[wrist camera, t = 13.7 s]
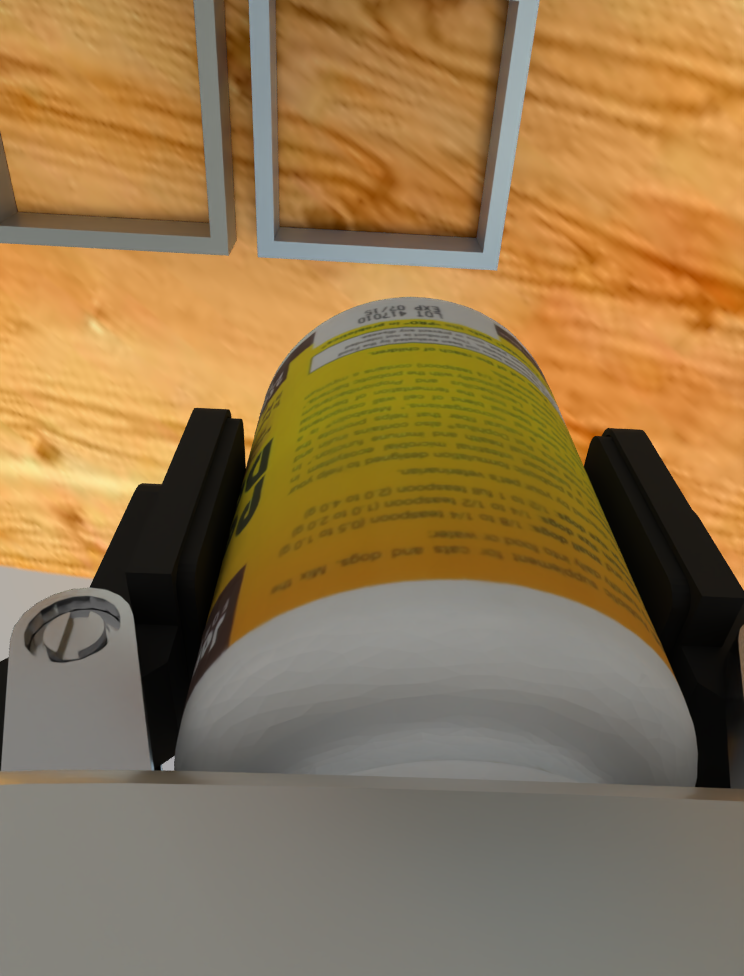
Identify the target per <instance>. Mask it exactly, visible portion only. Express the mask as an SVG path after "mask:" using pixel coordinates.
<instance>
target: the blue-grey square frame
mask: <svg viewBox="0 0 744 976" xmlns="http://www.w3.org/2000/svg"><path fill="white" fill-rule="evenodd" d="M538 7H539V0H509V6H508V13H507V20H506V28H505V35H504V42H503V49H502V57H501V64H500V71H499V78H498V86H497V93H496V100H495V108H494V115H493V122H492V129H491V137H490V144H489V151H488V159H487V166H486V173H485V180H484V188H483V195H482V202H481V209H480V217H479V224H478V231H477V238H468V237H450V236H433V235H415V234H397V233H380V232H362V231H344V230H327V229H309V228H291V227H280V225H279V169H278V113H277V57H276V0H249V24H250V52H251V80H252V108H253V136H254V164H255V192H256V220H257V248H258V257H265V258H283V259H301V260H319V261H337V262H355V263H374V264H392V265H410V266H428V267H446V268H464V269H483V270H497V267H498V260H499V254H500V248H501V241H502V235H503V229H504V222H505V216H506V210H507V203H508V197H509V191H510V184H511V178H512V172H513V165H514V159H515V153H516V146H517V140H518V133H519V127H520V121H521V114H522V108H523V102H524V95H525V89H526V83H527V76H528V70H529V64H530V57H531V51H532V45H533V38H534V32H535V26H536V19H537V13H538Z"/></svg>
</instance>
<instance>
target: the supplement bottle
mask: <svg viewBox="0 0 744 976" xmlns="http://www.w3.org/2000/svg"><path fill="white" fill-rule="evenodd" d="M697 762H698V750H697V743H696V735H695V730H694V725H693V722H692V719H691V716H690V713H689V710H688V708H687V705H686V702H685V699H684V696H683V694H682V692H681V689H680V687H679V685H678V682H677V680H676V678H675V675H674V673H673V671H672V668H671V666H670V663H669V661H668V659H667V656H666V654H665V652H664V649H663V647H662V645H661V642H660V640H659V638H658V636H657V633H656V631H655V629H654V627H653V625H652V622H651V620H650V618H649V616H648V614H647V611H646V609H645V607H644V604H643V602H642V600H641V598H640V595H639V593H638V591H637V588H636V586H635V584H634V582H633V580H632V577H631V575H630V573H629V571H628V568H627V566H626V564H625V561H624V559H623V556H622V554H621V552H620V549H619V547H618V545H617V543H616V540H615V538H614V536H613V533H612V531H611V529H610V526H609V524H608V522H607V520H606V517H605V515H604V513H603V510H602V508H601V506H600V503H599V501H598V499H597V496H596V494H595V492H594V489H593V487H592V484H591V482H590V480H589V478H588V475H587V473H586V471H585V469H584V466H583V464H582V462H581V459H580V457H579V455H578V452H577V450H576V448H575V445H574V443H573V441H572V438H571V436H570V434H569V431H568V429H567V427H566V425H565V423H564V420H563V418H562V415H561V413H560V411H559V408H558V406H557V404H556V401H555V399H554V396H553V394H552V392H551V390H550V388H549V386H548V384H547V382H546V379H545V377H544V375H543V373H542V371H541V370H540V368H539V366H538V364H537V363H536V361H535V360H534V358H533V357H532V356H531V354H530V353H529V352H528V350H527V349H526V348H525V347H524V346H523V345H522V344H521V342H520V341H519V340H518V339H517V338H516V337H515V336H514V335H513V334H512V333H511V332H510V331H508V330H507V329H506V328H505V327H503V326H502V325H500V324H499V323H497V322H496V321H495V320H493V319H491V318H489V317H487V316H486V315H484V314H482V313H480V312H478V311H476V310H473V309H471V308H468V307H465V306H462V305H459V304H456V303H452V302H448V301H444V300H438V299H431V298H420V297H400V298H391V299H384V300H378V301H373V302H369V303H366V304H363V305H359V306H356V307H354V308H351V309H349V310H346V311H344V312H342V313H340V314H338V315H336V316H334V317H332V318H330V319H329V320H327V321H325V322H324V323H322V324H321V325H319V326H318V327H316V328H315V329H314V330H312V331H311V332H310V333H309V334H307V335H306V336H305V337H304V338H303V339H302V340H301V341H300V342H299V343H298V344H297V345H296V346H295V347H294V348H293V349H292V350H291V351H290V353H289V354H288V355H287V357H286V358H285V359H284V361H283V362H282V364H281V365H280V366H279V368H278V370H277V372H276V374H275V376H274V377H273V380H272V382H271V384H270V386H269V389H268V391H267V394H266V397H265V401H264V404H263V407H262V410H261V413H260V417H259V421H258V424H257V428H256V432H255V436H254V440H253V444H252V448H251V451H250V455H249V459H248V463H247V467H246V471H245V475H244V479H243V483H242V486H241V490H240V493H239V497H238V501H237V505H236V509H235V514H234V519H233V522H232V525H231V528H230V533H229V537H228V541H227V545H226V549H225V553H224V557H223V561H222V565H221V569H220V573H219V577H218V581H217V585H216V588H215V592H214V596H213V600H212V603H211V607H210V611H209V615H208V618H207V622H206V626H205V629H204V632H203V635H202V639H201V643H200V648H199V653H198V657H197V661H196V664H195V668H194V672H193V676H192V680H191V683H190V687H189V690H188V694H187V698H186V702H185V707H184V711H183V715H182V720H181V725H180V730H179V734H178V739H177V744H176V750H175V761H174V771H208V772H244V773H281V774H317V775H353V776H387V777H418V778H450V779H481V780H511V781H540V782H570V783H599V784H625V785H651V786H677V787H695V784H696V780H697Z"/></svg>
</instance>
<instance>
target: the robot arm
mask: <svg viewBox="0 0 744 976" xmlns="http://www.w3.org/2000/svg"><path fill="white" fill-rule="evenodd" d="M584 469H585V471H586V473H587V475H588V478H589V480H590V482H591V484H592V487H593V489H594V492H595V494H596V496H597V499H598V501H599V503H600V506H601V508H602V510H603V513H604V515H605V517H606V520H607V522H608V524H609V526H610V529H611V531H612V533H613V536H614V538H615V540H616V543H617V545H618V547H619V549H620V552H621V554H622V556H623V559H624V561H625V564H626V566H627V568H628V571H629V573H630V575H631V577H632V580H633V582H634V584H635V586H636V588H637V591H638V593H639V595H640V598H641V600H642V602H643V604H644V607H645V609H646V611H647V614H648V616H649V618H650V620H651V622H652V625H653V627H654V629H655V631H656V633H657V636H658V638H659V640H660V642H661V645H662V647H663V649H664V652H665V654H666V656H667V659H668V661H669V663H670V666H671V668H672V671H673V673H674V675H675V678H676V680H677V682H678V685H679V687H680V689H681V692H682V694H683V696H684V699H685V702H686V705H687V708H688V710H689V713H690V716H691V719H692V722H693V725H694V730H695V735H696V743H697V750H698V762H697V780H696V784H695V787H677V786H651V785H625V784H599V783H570V782H540V781H511V780H481V779H450V778H418V777H387V776H353V775H317V774H281V773H244V772H208V771H163V768H162V764H163V763H164V762H166V761H167V760H169V759H170V758H172V757H173V756H175V750H176V744H177V739H178V734H179V730H180V725H181V720H182V715H183V711H184V707H185V702H186V698H187V694H188V690H189V687H190V683H191V680H192V676H193V672H194V668H195V664H196V661H197V657H198V653H199V648H200V643H201V639H202V635H203V632H204V629H205V626H206V622H207V618H208V615H209V611H210V607H211V603H212V600H213V596H214V592H215V588H216V585H217V581H218V577H219V573H220V569H221V565H222V561H223V557H224V553H225V549H226V545H227V541H228V537H229V533H230V528H231V525H232V522H233V519H234V514H235V509H236V505H237V501H238V497H239V493H240V490H241V486H242V483H243V479H244V475H245V471H246V464H245V446H244V428H243V421H242V419H233V418H231V413H230V410H228V409H207V408H194V410H193V412H192V414H191V416H190V419H189V421H188V423H187V426H186V428H185V431H184V433H183V435H182V438H181V440H180V443H179V445H178V447H177V450H176V452H175V454H174V457H173V459H172V462H171V464H170V466H169V469H168V471H167V473H166V476H165V478H164V481H163V483H162V484H145V483H142V484H140V485H138V487H137V488H136V490H135V492H134V494H133V496H132V498H131V500H130V502H129V504H128V507H127V509H126V511H125V513H124V515H123V517H122V519H121V521H120V524H119V526H118V528H117V530H116V532H115V534H114V536H113V539H112V541H111V543H110V545H109V547H108V549H107V551H106V553H105V556H104V558H103V560H102V562H101V564H100V566H99V568H98V571H97V573H96V575H95V577H94V579H93V581H92V583H91V585H90V588H80V589H71V590H67V591H64V592H60V593H57V594H54V595H52V596H50V597H48V598H46V599H44V600H42V601H40V602H38V603H36V604H35V605H34V606H33V607H31V608H30V609H29V610H27V611H26V612H25V613H24V614H23V615H22V617H21V618H20V619H19V621H18V622H17V623H16V624H15V626H14V628H13V632H12V635H11V638H10V648H9V657H8V658H7V659H4V660H3V661H1V662H0V976H744V590H743V589H742V587H741V585H740V584H739V582H738V581H737V579H736V577H735V576H734V574H733V572H732V571H731V569H730V567H729V566H728V564H727V563H726V561H725V559H724V558H723V556H722V554H721V553H720V551H719V550H718V548H717V546H716V545H715V543H714V541H713V540H712V538H711V536H710V535H709V533H708V532H707V530H706V528H705V527H704V525H703V523H702V522H701V520H700V519H699V517H698V516H697V514H696V513H695V512H694V511H693V510H692V509H691V507H690V505H689V504H688V502H687V500H686V499H685V497H684V495H683V494H682V492H681V491H680V489H679V487H678V486H677V484H676V482H675V481H674V479H673V477H672V476H671V474H670V472H669V471H668V469H667V468H666V466H665V464H664V463H663V461H662V459H661V458H660V456H659V454H658V453H657V451H656V449H655V448H654V446H653V445H652V443H651V441H650V440H649V438H648V436H647V435H646V433H645V432H644V431H643V430H635V429H614V428H608V429H606V430H605V431H604V433H603V435H602V436H595V437H593V439H592V440H591V443H590V446H589V449H588V453H587V457H586V460H585V464H584Z"/></svg>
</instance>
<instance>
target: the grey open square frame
mask: <svg viewBox="0 0 744 976" xmlns="http://www.w3.org/2000/svg"><path fill="white" fill-rule="evenodd" d="M193 1H194V15H195V29H196V43H197V57H198V70H199V84H200V98H201V112H202V126H203V140H204V153H205V167H206V181H207V195H208V209H209V223H203V222H185V221H168V220H150V219H132V218H115V217H97V216H79V215H62V214H44V213H26V212H17V207H16V203H15V198H14V194H13V189H12V184H11V180H10V175H9V171H8V166H7V162H6V157H5V153H4V148H3V144H2V139H1V134H0V243H10V244H29V245H47V246H65V247H83V248H101V249H119V250H138V251H156V252H174V253H192V254H210V255H228V256H229V254H230V252H231V250H232V248H233V246H234V244H235V242H236V241H237V240H236V221H235V202H234V183H233V164H232V144H231V125H230V106H229V87H228V67H227V48H226V29H225V10H224V0H193Z"/></svg>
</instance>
